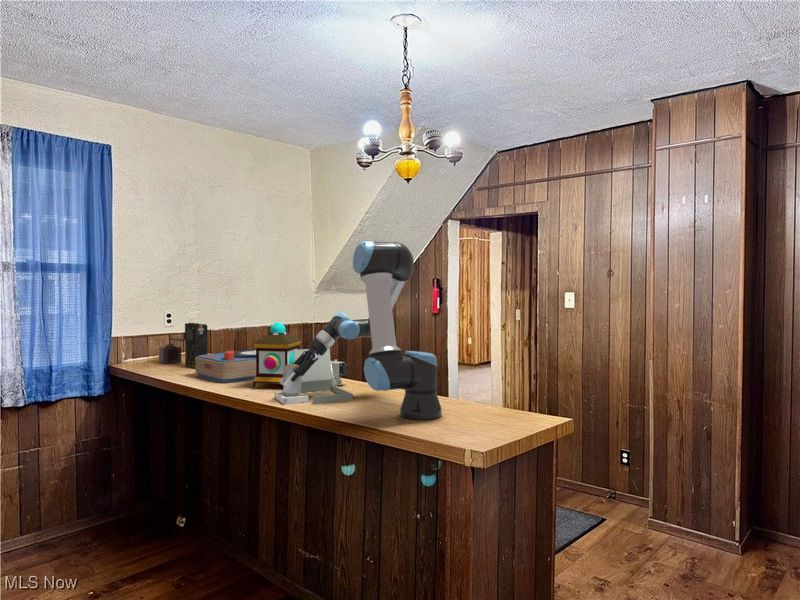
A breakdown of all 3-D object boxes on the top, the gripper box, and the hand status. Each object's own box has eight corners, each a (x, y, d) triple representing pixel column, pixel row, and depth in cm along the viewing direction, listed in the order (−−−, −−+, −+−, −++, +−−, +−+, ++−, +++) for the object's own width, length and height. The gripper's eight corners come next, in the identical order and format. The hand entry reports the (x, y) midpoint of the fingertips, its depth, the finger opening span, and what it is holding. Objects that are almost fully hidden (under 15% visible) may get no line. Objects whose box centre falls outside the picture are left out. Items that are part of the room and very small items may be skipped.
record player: (263, 366, 321) (263, 340, 320) (300, 374, 296) (300, 346, 295) (189, 376, 289) (189, 347, 289) (224, 385, 264) (224, 353, 264)
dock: (308, 402, 226) (308, 395, 226) (284, 404, 221) (284, 398, 221) (298, 395, 238) (298, 389, 238) (274, 398, 234) (274, 392, 233)
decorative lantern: (290, 391, 249) (290, 323, 248) (248, 389, 252) (248, 323, 251) (305, 383, 269) (305, 320, 268) (267, 381, 272) (266, 320, 271)
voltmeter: (183, 366, 320) (182, 322, 320) (198, 364, 326) (197, 322, 326) (194, 369, 309) (194, 324, 308) (209, 367, 315) (209, 323, 314)
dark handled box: (164, 364, 327) (163, 334, 327) (158, 362, 336) (157, 332, 335) (190, 362, 337) (190, 332, 337) (184, 360, 346) (184, 331, 345)
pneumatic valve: (342, 387, 258) (342, 361, 257) (322, 384, 264) (322, 359, 263) (349, 385, 263) (349, 359, 262) (329, 382, 269) (329, 358, 268)
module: (301, 393, 229) (301, 365, 229) (287, 394, 226) (286, 366, 226) (297, 390, 234) (297, 363, 233) (283, 392, 231) (283, 364, 231)
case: (354, 400, 230) (354, 354, 229) (313, 404, 222) (313, 357, 221) (330, 388, 254) (330, 347, 253) (293, 392, 246) (293, 349, 245)
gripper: (335, 351, 228) (296, 395, 221) (320, 346, 245) (283, 387, 238) (323, 339, 226) (283, 383, 219) (308, 335, 242) (271, 375, 235)
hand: (283, 385), depth 228 cm, fingers closed on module, 5 cm apart
